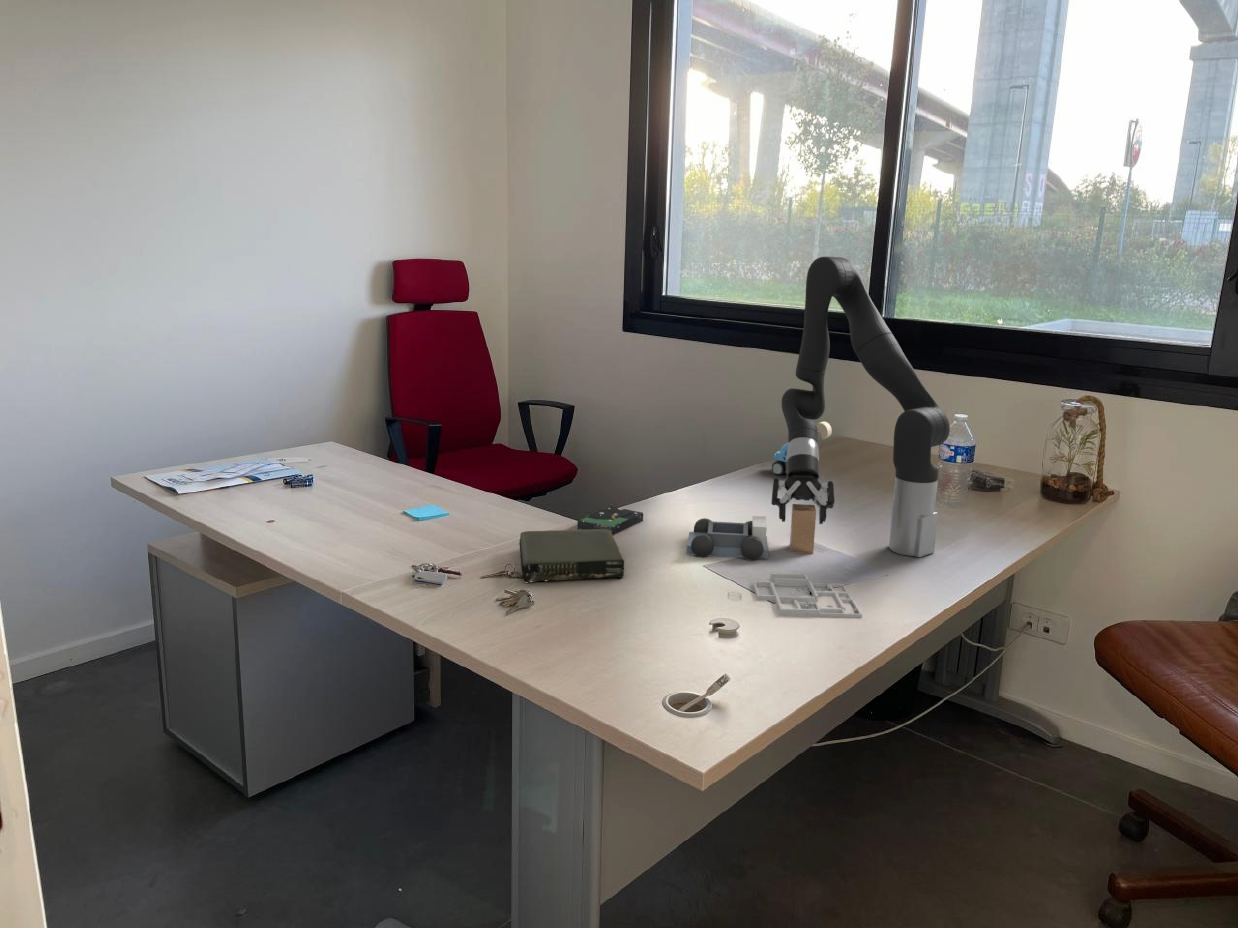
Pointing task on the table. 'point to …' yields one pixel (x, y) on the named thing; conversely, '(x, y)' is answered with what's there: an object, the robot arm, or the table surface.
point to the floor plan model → (800, 602)
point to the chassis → (729, 539)
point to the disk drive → (610, 520)
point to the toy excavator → (781, 455)
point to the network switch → (569, 555)
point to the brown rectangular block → (802, 528)
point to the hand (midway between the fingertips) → (802, 521)
